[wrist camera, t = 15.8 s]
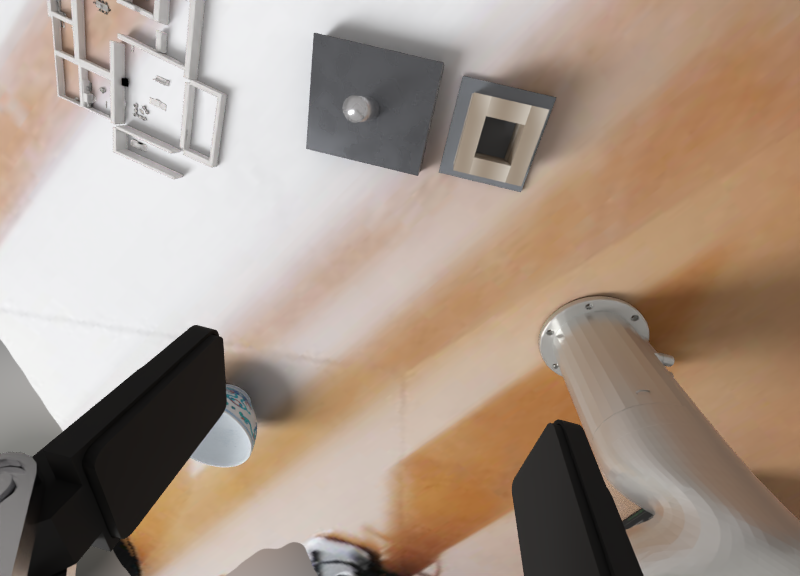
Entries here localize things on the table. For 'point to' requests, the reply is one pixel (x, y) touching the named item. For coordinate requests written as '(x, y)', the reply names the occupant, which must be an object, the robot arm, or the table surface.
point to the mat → (489, 126)
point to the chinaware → (230, 433)
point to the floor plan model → (119, 80)
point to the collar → (519, 146)
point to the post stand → (371, 103)
